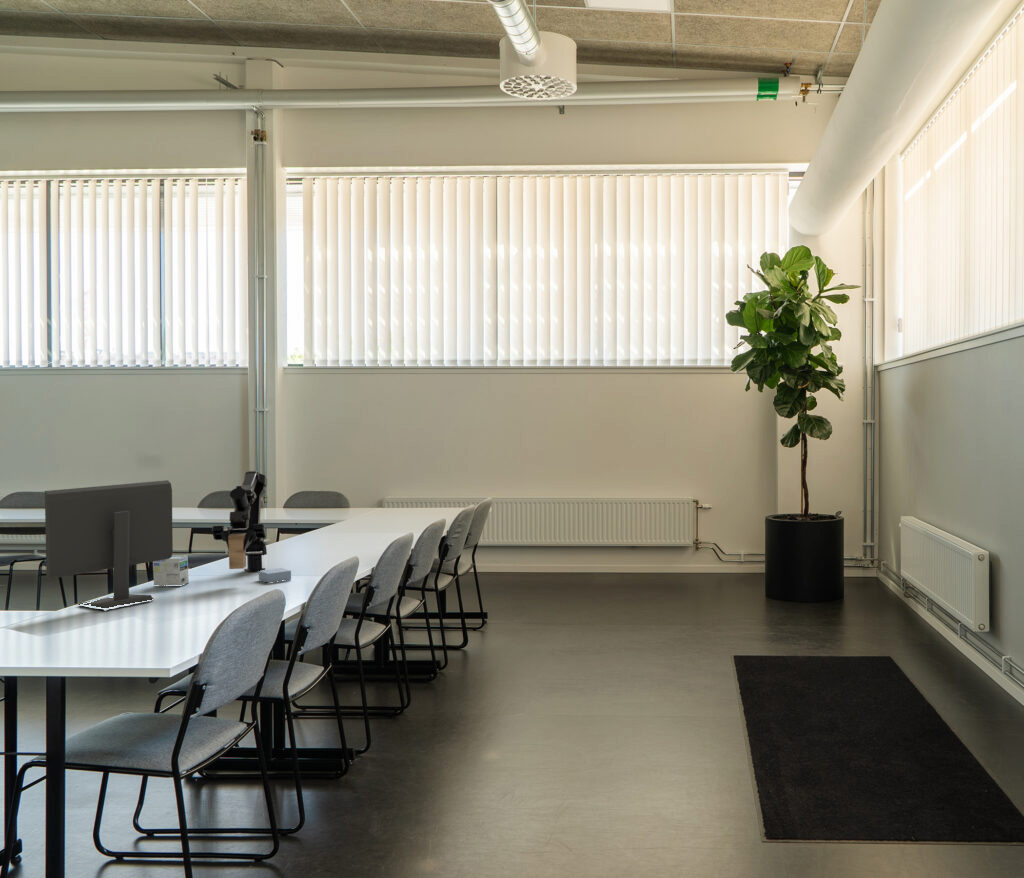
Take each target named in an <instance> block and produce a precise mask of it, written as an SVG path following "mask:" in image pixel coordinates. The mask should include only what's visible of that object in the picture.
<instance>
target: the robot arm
mask: <svg viewBox="0 0 1024 878" xmlns="http://www.w3.org/2000/svg"><path fill="white" fill-rule="evenodd" d="M267 487H268V478H267V477H266V475H264V474H262V473H260V471H258V470H248V471H246V472H245V475H244V477H243V482H242V484H241V485H236V487H235V488H233V489H232V490H231V491H230V492H229V497H230V502H231V505H232V507H233V508H234V511H230V512H229V522H230V523H229V525H230V527H231V528H229V527H226V526H224V525H225V524H224V525H223V524H221V525H220V524H219V525H212V528H211V534H212V536H213V539H214V541H222V542H226V545H227V550H228V552H229V542H228V536H229V535H231V534H245V542H244V547H243V550H244V551H245V550H246V567H247V568H244V569H243V570H244V571H247V572H251V573H252V572H253V573H254V572H259V570H260V571H261V570H265V569H266V568H265V567H263V556H265V555H266V556H267V554H268V553H267V550H268V549H267V545H266V543H265V540H264V539H265V538H266V537H267V531H266V527H265V524H264V523H261V508H262V504H261V503H262V498H263V496H264V495H265V493H266V489H267ZM266 570H267V569H266Z"/></svg>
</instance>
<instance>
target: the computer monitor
mask: <svg viewBox="0 0 1024 878" xmlns="http://www.w3.org/2000/svg"><path fill="white" fill-rule="evenodd" d="M44 516H45V517H44V518H45V519H44V521H45V522H44V523H45V524H44V525H45V526H44V527H45V566H46V567H45V569H46V570H45V572H46V573H45V575H46V577H45V578H46V580H51V579H52V580H53V579H57V578H63V577H68V576H69V577H70V576H75V575H81V574H87V573H93V572H98V571H105V570H110V569H113V596H112V597H113V598H109V597H110V596H109V597H104V598H99V599H100V600H98V599H96V600H97V601H94V602H91V603H87V602H90V601H91V600H88V601H83V602H80V603H78V604H77V606H78V605H80V604H83V603H87V604H84V605H89V604H91V606H96V607H101V608H109V607H114V606H117V605H124V604H130V603H135V602H142V601H147V600H152V599H154V597H153V596H152V595H151V594H133V593H132V594H130V566H134V565H140V564H147V563H153V561H159V560H165V559H169V558H171V557H172V556H173V552H174V551H173V550H174V549H173V545H174V544H173V543H174V542H173V536H174V535H173V488H172V483H171V482H170V480H168V479H167V480H166V479H165V480H156V481H145V482H144V481H143V482H135V483H134V482H133V483H121V484H110V485H100V486H99V485H98V486H87V487H77V488H75V487H74V488H63V489H53V490H52V489H51V490H44ZM152 601H153V600H152Z"/></svg>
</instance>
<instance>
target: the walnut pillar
mask: <svg viewBox="0 0 1024 878" xmlns="http://www.w3.org/2000/svg"><path fill="white" fill-rule="evenodd" d="M228 542H229V551H228V561H229V562H228V563H229V564H228V566H229V570H238V569H239V570H240V569H241V570H242V569H243V570H244V569H246V567H247V556H246V553H247V552H246V550H245V551H244V550H243V547H244V542H245V534H230V535H229V536H228Z"/></svg>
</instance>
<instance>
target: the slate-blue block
mask: <svg viewBox="0 0 1024 878" xmlns="http://www.w3.org/2000/svg"><path fill="white" fill-rule="evenodd" d="M290 579H291V580H292V570H289V569H286V568H283V567H276V568H270V569H266V570H260V571H258V581H259V580H261V581H260V582H262V581H264V582H263V583H265V582H268V583H270V582H277V581H282V580H290ZM277 583H278V582H277ZM270 584H271V583H270Z"/></svg>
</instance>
